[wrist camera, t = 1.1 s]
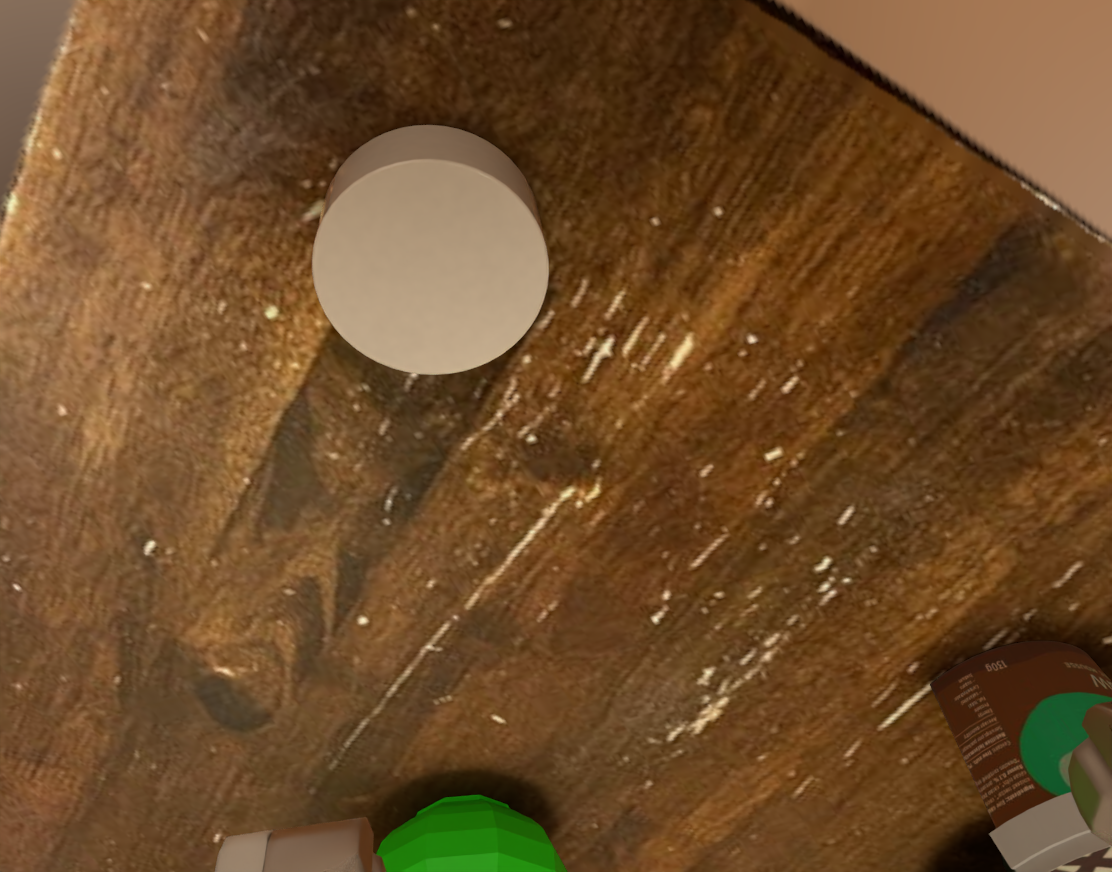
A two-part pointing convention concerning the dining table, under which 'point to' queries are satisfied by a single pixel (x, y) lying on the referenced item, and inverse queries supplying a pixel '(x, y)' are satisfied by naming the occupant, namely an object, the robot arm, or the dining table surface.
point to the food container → (1028, 748)
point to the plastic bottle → (469, 840)
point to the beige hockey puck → (430, 251)
